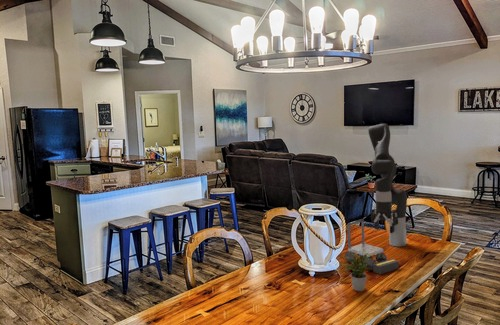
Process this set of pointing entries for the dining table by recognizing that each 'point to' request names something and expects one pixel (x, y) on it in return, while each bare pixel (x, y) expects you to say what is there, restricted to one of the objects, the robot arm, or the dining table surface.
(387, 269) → the block
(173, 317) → the dining table surface
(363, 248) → the trolley
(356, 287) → the house plant
